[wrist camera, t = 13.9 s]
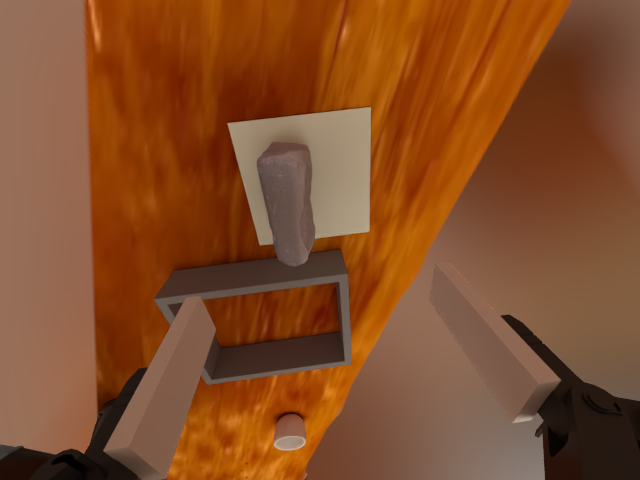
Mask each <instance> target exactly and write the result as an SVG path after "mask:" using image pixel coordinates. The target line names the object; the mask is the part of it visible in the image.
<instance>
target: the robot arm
mask: <svg viewBox="0 0 640 480" xmlns="http://www.w3.org/2000/svg"><path fill="white" fill-rule="evenodd" d="M429 300H430V302H431V303H432V305H433V306H434V308H435V309H436V311H437V312H438V314H439V315H440V316H441V318H442V320H443V321H444V323H445V324H446V326H447V327H448V329H449V330H450V331H451V333H452V334H453V335H454V337H455V339H456V340H457V342H458V343H459V345H460V346H461V348H462V349H463V351H464V352H465V354H466V355H467V357H468V358H469V360H470V361H471V363H472V364H473V366H474V367H475V369H476V370H477V372H478V373H479V375H480V376H481V378H482V379H483V381H484V382H485V383H486V385H487V386H488V388H489V389H490V391H491V392H492V394H493V395H494V397H495V398H496V400H497V401H498V403H499V404H500V406H501V407H502V409H503V410H504V412H505V413H506V415H507V416H508V418H509V419H510V420H511V422H512V423H516V422H523V421H529V420H532V419H533V417H534V416H535V414H536V413H537V412H538V413H539V415H540V416H541V418H542V419H543V420H544V421H543V423H542V424H541V425H540V426H539V428H538V429H537V430H536V433H535V436H536V437H540V435H541V434H542V433H543V449H544V467H545V480H640V401H635V400H629V399H624V398H618V397H614V396H612V395H611V394H609V393H608V392H606V391H605V390H603V389H601V388H599V387H597V386H595V385H592V384H588V383H584V382H583V381H582V380H581V379H580V378H579V377H577V376H576V375H575V374H574V373H573V372H572V371H571V370H570V369H569V368H568V367H567V366H566V365H565V364H564V363H563V362H562V361H561V360H560V359H559V358H558V357H557V356H556V355H555V354H554V353H553V352H552V351H551V350H550V349H549V348H548V347H547V346H546V345H545V344H542V341H541V340H540V339H538V338H537V337H536V336H535V335H533V333H532V332H531V331H530V330H529V329H528V328H527V327H526V326H525V325H524V324H523V323H522V322H520V321H519V320H517V319H516V318H514V317H512V316H511V315H502V316H500V315H499V314H498V313H497V312H496V311H495V310H494V309H493V308H492V307H491V306H490V305H489V304H488V303H487V302H486V301H485V299H484V298H483V297H482V296H481V295H480V294H479V293H478V292H477V291H476V290H475V289H474V288H473V287H472V286H471V285H470V284H469V283H468V282H467V280H465V278H464V277H463V276H462V275H461V274H460V273H459V272H458V271H457V270H456V269H455V268H454V267H453V266H452V265H451V264H450V263H449V262H445V263H438V264H435V270H434V275H433V280H432V286H431V291H430V297H429ZM215 332H216V328H215V326H214V324H213V322H212V320H211V317H210V315H209V313H208V311H207V309H206V307H205V305H204V303H203V301H202V298H201V296H195V297H188V298H186V299H185V301H184V302H183V304H182V306H181V308H180V310H179V312H178V313H177V315H176V317H175V319H174V321H173V323H172V325H171V326H170V328H169V330H168V332H167V334H166V336H165V338H164V339H163V341H162V343H161V345H160V347H159V349H158V350H157V352H156V354H155V356H154V358H153V360H152V362H151V363H150V365H149V367H147V368H140V369H138V370H137V371H136V372H135V373H134V374H133V375H132V376H131V378H130V379H129V380H128V381H127V382H126V384H125V386H124V387H123V389H122V391H121V392H120V394H119V397H118V398H117V399H113V400H111V401H109V402H107V403H105V404H104V405H103V407H102V408H101V410H100V412H99V414H98V417H97V422H96V425H95V428H94V432H93V435H92V438H91V442H90V445H89V447H88V449H87V450H86V452H85V453H84V454H83V453H81V452H80V451H78V450H74V449H69V450H65V451H62V452H60V453H58V454H57V455H55V454H50V453H45V452H41V451H35V450H31V449H26V448H24V447H23V446H18V447H13V446H6V445H0V480H159V479H166V478H167V475H168V472H169V469H170V466H171V463H172V460H173V457H174V454H175V451H176V448H177V445H178V442H179V439H180V436H181V433H182V430H183V427H184V424H185V421H186V418H187V415H188V412H189V409H190V406H191V403H192V400H193V397H194V394H195V391H196V388H197V385H198V382H199V379H200V376H201V373H202V370H203V367H204V364H205V361H206V358H207V355H208V352H209V349H210V346H211V343H212V340H213V337H214V335H215Z"/></svg>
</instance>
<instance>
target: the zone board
mask: <svg viewBox="0 0 640 480" xmlns="http://www.w3.org/2000/svg"><path fill="white" fill-rule="evenodd" d="M227 124H228V127H229V131H230V135H231V139H232V142H233V146H234V150H235V154H236V157H237V161H238V165H239V169H240V173H241V176H242V180H243V184H244V188H245V191H246V195H247V199H248V203H249V206H250V210H251V214H252V218H253V221H254V225H255V229H256V233H257V237H258V240H259V244H260V246H261V245H269V244H274V243H273V235H272V230H271V228H270V225H269V219H268V213H267V210H266V206H265V201H264V197H263V192H262V188H261V184H260V179H259V174H258V169H257V160H258V158H259V157H260V156H261V155H262V154H263V152H264V151H266V150H267V149H268V147H269V146H270V144H271V143H272V142H280V143H281V142H285V143H286V142H287V143H298V144H304V145H307V146H308V149H309V150H310V157H311V162H312V181H311V196H310V201H311V206H312V211H313V222H314V225H315V239H316V238H324V237H332V236H339V235H347V234H355V233H363V232H369V224H370V142H371V107H365V108H356V109H347V110H338V111H329V112H320V113H312V114H303V115H294V116H285V117H276V118H267V119H259V120H250V121H241V122H232V123H227Z"/></svg>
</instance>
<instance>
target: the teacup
mask: <svg viewBox="0 0 640 480" xmlns="http://www.w3.org/2000/svg"><path fill="white" fill-rule="evenodd" d="M305 443H306V431H305V424H304V422H303V420H302V418H301V417H300V416H298V415H296V414H287V415H284V416H283V417H282V418H280V420H279V421H278V423H277V425H276V428H275V435H274V446H275V447H276V448H277V449H279V450H295V449H298V448H301V447H302V446H304V445H305Z"/></svg>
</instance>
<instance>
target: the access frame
mask: <svg viewBox="0 0 640 480" xmlns="http://www.w3.org/2000/svg"><path fill="white" fill-rule="evenodd" d="M334 282H335V283H336V296H337V308H338V320H339V332H337V333H330V334H323V335H315V336H308V337H301V338H294V339H286V340H279V341H272V342H265V343H257V344H250V345H243V346H236V347H228V348H220V346H219V344H218V342H217V340H216V338H215V336H214V337H213V340H212V343H211V346H210V349H209V352H208V355H207V358H206V361H205V364H204V367H203V370H202V373H201V376H202V378H203V379H204V381H205V383H206V384H207V385H209V384H216V383H223V382H230V381H237V380H244V379H251V378H258V377H266V376H273V375H280V374H287V373H294V372H301V371H308V370H315V369H322V368H329V367H336V366H343V365H350V364H352V354H351V332H350V310H349V288H348V273H347V269H346V266H345V262H344V259H343V256H342V252H341V249H338V250H330V251H323V252H315V253H309V255H308V259H307V261H306V262H305V263H303V264H301V265H298V266H294V267H292V266H288V265H285V264H284V263H282V262H280V261H279V260H278V257H276V258H268V259H260V260H253V261H245V262H237V263H229V264H222V265H214V266H206V267H198V268H190V269H183V270H175V271H173V273H172V274H171V275H170V277H169V278H168V280H167V281H166V283H165V284H164V285H163V287H162V288H161V290H160V291H159V293H158V294H157V295H156V297H155V298H154V300H155V302H156V304H157V305H158V307H159V308H160V310H161V312H162V313H163V315H164V317H165V318H166V320H167V321H168V323H169V325H170V326H171V325H172V323H173V321H174V319H175V317H176V315H177V313H178V312H179V310H180V308H181V306H182V304H183V302H184V301H185V299H186V298H188V297H195V296H201V298H202V300H206V299H213V298H221V297H229V296H236V295H244V294H251V293H259V292H266V291H274V290H281V289H289V288H297V287H304V286H312V285H319V284H327V283H334Z"/></svg>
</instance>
